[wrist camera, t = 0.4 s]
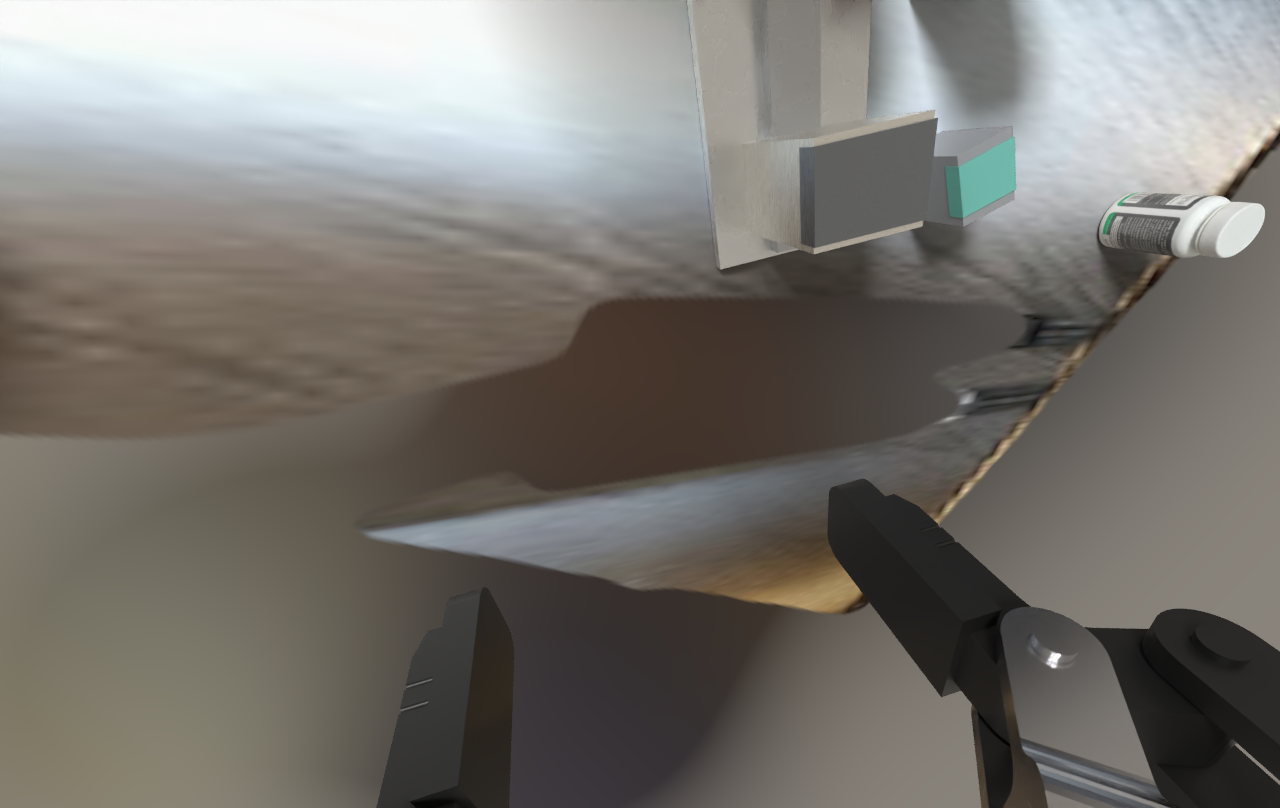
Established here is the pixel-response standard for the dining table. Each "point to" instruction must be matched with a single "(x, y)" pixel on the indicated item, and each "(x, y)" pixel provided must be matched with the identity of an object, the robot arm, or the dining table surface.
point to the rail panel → (800, 130)
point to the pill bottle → (1180, 224)
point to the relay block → (971, 174)
